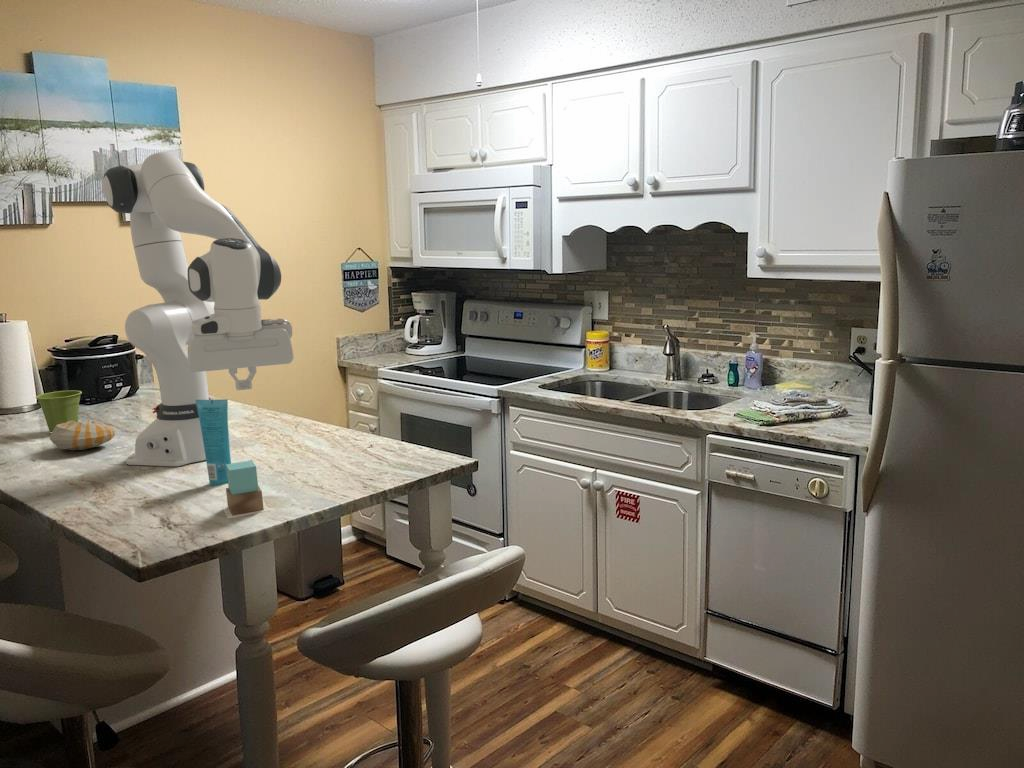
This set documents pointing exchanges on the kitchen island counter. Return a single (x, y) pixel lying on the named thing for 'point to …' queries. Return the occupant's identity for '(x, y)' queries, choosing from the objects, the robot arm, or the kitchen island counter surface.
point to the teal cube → (242, 477)
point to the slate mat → (245, 513)
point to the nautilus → (80, 435)
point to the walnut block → (244, 502)
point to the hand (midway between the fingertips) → (244, 389)
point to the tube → (215, 438)
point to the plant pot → (60, 407)
